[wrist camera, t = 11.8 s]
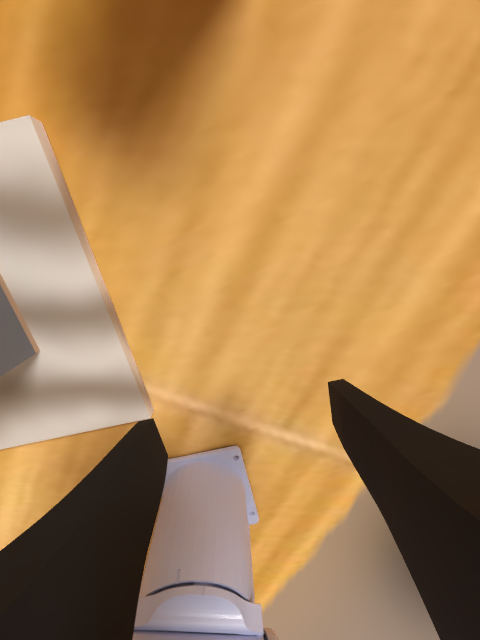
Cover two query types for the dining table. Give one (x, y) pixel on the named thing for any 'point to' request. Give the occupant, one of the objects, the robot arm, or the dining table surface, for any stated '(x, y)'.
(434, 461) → the robot arm
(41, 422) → the board
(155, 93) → the dining table surface
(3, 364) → the block
